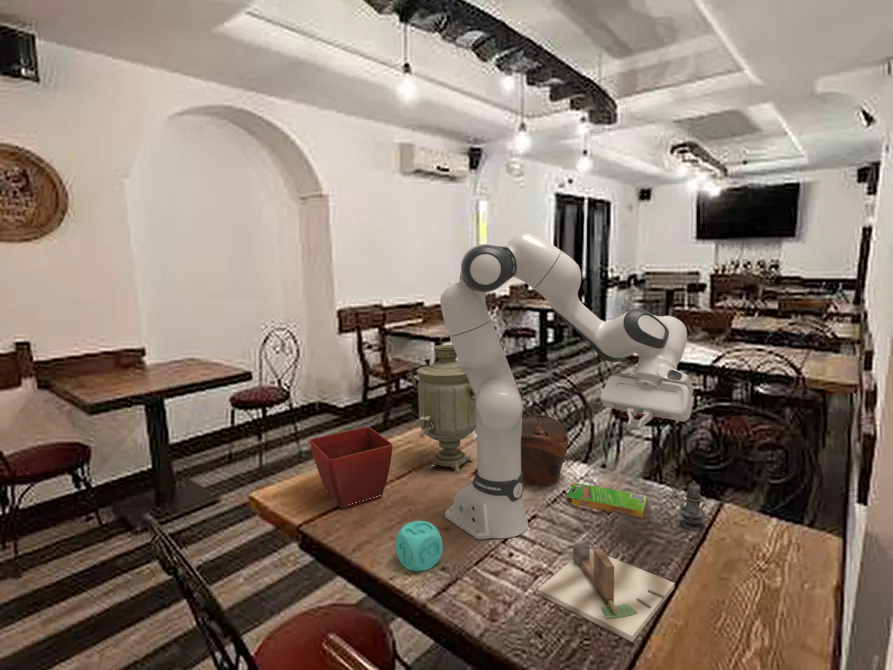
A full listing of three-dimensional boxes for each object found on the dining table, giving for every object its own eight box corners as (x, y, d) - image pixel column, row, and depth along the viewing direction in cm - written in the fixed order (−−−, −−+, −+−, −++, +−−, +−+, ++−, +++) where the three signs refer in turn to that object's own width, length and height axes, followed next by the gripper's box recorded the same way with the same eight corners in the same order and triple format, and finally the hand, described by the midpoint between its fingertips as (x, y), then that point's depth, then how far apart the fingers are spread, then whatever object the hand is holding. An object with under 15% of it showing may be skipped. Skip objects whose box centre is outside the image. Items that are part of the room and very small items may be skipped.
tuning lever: (570, 555, 116) (570, 522, 115) (586, 554, 117) (586, 521, 115) (606, 614, 97) (606, 575, 96) (624, 612, 98) (625, 573, 97)
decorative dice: (395, 560, 120) (393, 528, 119) (424, 547, 125) (422, 516, 124) (414, 576, 114) (413, 543, 113) (443, 562, 119) (442, 530, 117)
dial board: (537, 594, 106) (537, 588, 106) (586, 552, 121) (586, 546, 120) (632, 642, 93) (632, 635, 93) (674, 588, 107) (674, 582, 107)
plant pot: (332, 518, 140) (328, 459, 138) (312, 492, 157) (308, 438, 154) (396, 499, 150) (394, 444, 147) (371, 476, 166) (368, 426, 164)
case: (532, 497, 148) (532, 436, 146) (498, 471, 167) (497, 417, 164) (582, 485, 155) (584, 427, 153) (544, 462, 174) (545, 410, 171)
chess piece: (708, 532, 127) (710, 486, 126) (682, 530, 129) (684, 484, 127) (701, 519, 133) (703, 475, 131) (677, 518, 134) (678, 474, 133)
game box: (642, 522, 135) (564, 503, 145) (646, 506, 144) (573, 489, 153) (643, 511, 135) (565, 492, 144) (647, 495, 143) (574, 479, 153)
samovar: (384, 466, 174) (378, 349, 168) (442, 445, 191) (438, 338, 185) (444, 494, 152) (440, 360, 146) (503, 467, 170) (501, 347, 164)
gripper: (607, 364, 128) (587, 412, 122) (694, 376, 114) (676, 430, 108) (615, 378, 132) (596, 425, 126) (700, 391, 118) (683, 444, 112)
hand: (634, 428), depth 117 cm, fingers closed
